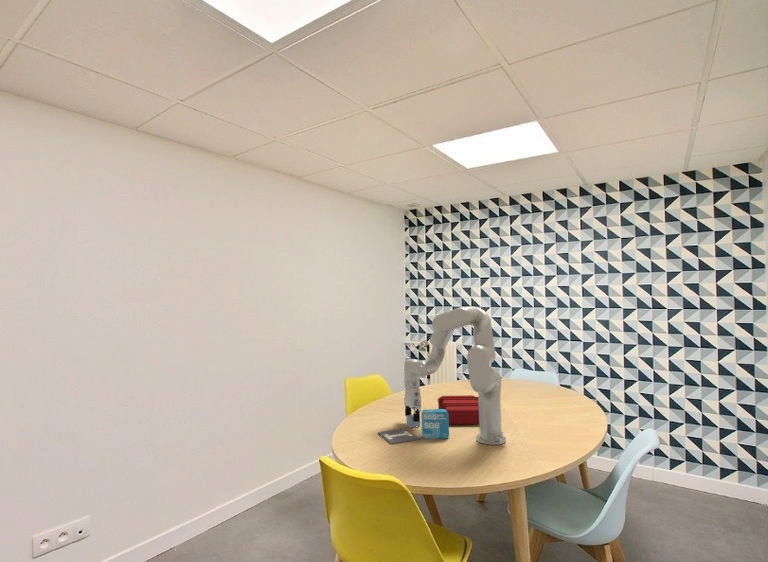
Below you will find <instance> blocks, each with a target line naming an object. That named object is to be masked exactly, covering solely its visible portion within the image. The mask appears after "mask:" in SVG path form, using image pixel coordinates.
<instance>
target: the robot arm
mask: <svg viewBox="0 0 768 562" xmlns="http://www.w3.org/2000/svg"><path fill="white" fill-rule="evenodd" d="M465 326H473V332H472V333H473V343H474V345H473V346H472V347H470V348H469V350H468V352H467V355H466V360H467V361H466V363H467V370H468V377H469V379H468V380H469V383H470V384H469V385H470V386H471V389H473V391H474V392H476V393H477V394H478V396H477V397H478V402H479V424H478V426H479V428H478V429H479V430H478V431H479V434H477V435H476V437H475V440H476V441H477V442H479V443H480V444H484V445H491V446H498V445H502V444H505V443H506V441H507V437H506V436H504V431H503V429H502V405H501V399H502V398H501V392H502V389H501V388H502V376H501V374H500V372H499V371H498V370H497V369H496V368H495V367H491V366H490V365H491V364H492V363H493V362H494V361H495V360H496V349H495V341H494V333H493V327H492V322H491V318H490V316H489V315H488V313H487V312H486V311H485V310H484V309H482V308H479V307H476V306H460V307H455V308H454V309H452V310H448V311H445V312H443V313H439V314H437V315H435V316H434V317H433V319H432V323H431V327H432V329H433V332H432V334H431V336H430V338H429V342H430V345H431V346H432V348H431V351H430V353H429V355H428V356H427V358H426V359H423V360H418V359H416V358H406V359H405V360H404V364H403V365H404V366H403V367H404V369H403V370H404V372H403V373H404V375H403V376H404V398H403V401H404V408H405V409H404V414H405V417H407V415H412V412H413V419H414V422H418V421H420V422H421V412H422V410H421V409H422V398H421V397H422V395H421V389H420V377H423V378H424V377H427V376H430V375H432V374H435V373H436V372H437V371H438V370H439V368H440V367H441V365H442V363H443V361H444V358H445V354H446V347H447V345H448V343H449V342H450V339H451V338H452V335H453V334H454V332H455V330H456V329H458V328H459V329H460V328H463V327H465ZM412 410H413V411H412Z"/></svg>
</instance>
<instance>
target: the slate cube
mask: <svg viewBox="0 0 768 562" xmlns="http://www.w3.org/2000/svg"><path fill="white" fill-rule="evenodd" d="M407 425H409V426H410V427H415V428H417V427H416V426H420V427H421V420H420V421H418V422H414V419H413V414H412V413H411V415H407V416H406V426H407ZM409 426H408V427H409ZM410 427H409V428H410Z"/></svg>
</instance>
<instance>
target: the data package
mask: <svg viewBox="0 0 768 562" xmlns="http://www.w3.org/2000/svg"><path fill="white" fill-rule="evenodd" d="M420 420H421V436H422V438H423V439H424V440H425V439H426V440H434V439H435V440H442V439H444V440H445V439H448V438H449V436H450V425H449V415H448V412H447V411H446V410H445V409H439V408H437V409H436V408H435V409H434V408H433V409H432V408H431V409H429V408H428V409H426V408H425V409H422V410H421V411H420Z"/></svg>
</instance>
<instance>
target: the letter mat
mask: <svg viewBox="0 0 768 562" xmlns="http://www.w3.org/2000/svg"><path fill="white" fill-rule="evenodd" d="M377 434H378V435H379V434H380V435H381V438H383V439H384V440H385V441H386V442H387V443H389V445H395V444H396V445H397V444H402V443H407V442H414V441H420V437H419V436H417V435H415V434H414V433H413V432H411V431H410V430H408V429H407V428H405V427H403V428H397V429H390V430H384V431H378V432H377ZM380 435H379V436H380Z"/></svg>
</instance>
